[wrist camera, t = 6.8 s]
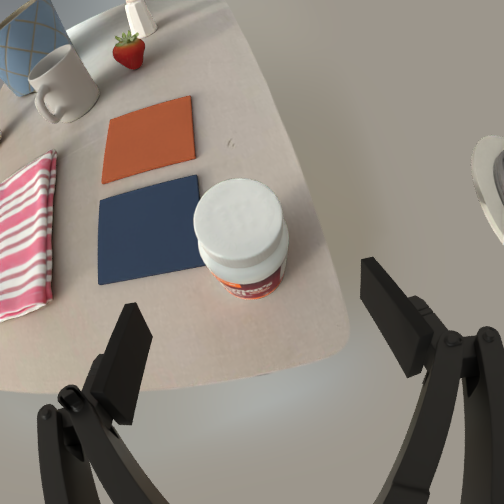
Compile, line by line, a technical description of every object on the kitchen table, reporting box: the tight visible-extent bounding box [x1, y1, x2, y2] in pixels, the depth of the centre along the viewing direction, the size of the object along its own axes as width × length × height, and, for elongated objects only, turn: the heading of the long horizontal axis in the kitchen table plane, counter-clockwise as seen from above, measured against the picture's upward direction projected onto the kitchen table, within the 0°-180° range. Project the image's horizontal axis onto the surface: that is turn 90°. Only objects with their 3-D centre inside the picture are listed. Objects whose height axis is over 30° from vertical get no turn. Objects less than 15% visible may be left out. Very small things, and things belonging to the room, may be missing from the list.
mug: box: [28, 44, 99, 124], centre depth 32 cm, size 12×8×11 cm
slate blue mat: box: [98, 175, 206, 285], centre depth 29 cm, size 12×10×1 cm
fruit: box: [113, 30, 145, 69], centre depth 35 cm, size 5×5×8 cm
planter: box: [0, 0, 74, 97], centre depth 35 cm, size 19×19×20 cm
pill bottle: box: [194, 178, 289, 300], centre depth 22 cm, size 6×6×11 cm
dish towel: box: [0, 149, 57, 322], centre depth 29 cm, size 17×23×4 cm
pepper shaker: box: [125, 0, 157, 39], centre depth 38 cm, size 5×5×11 cm
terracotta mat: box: [102, 96, 196, 184], centre depth 33 cm, size 12×11×1 cm
